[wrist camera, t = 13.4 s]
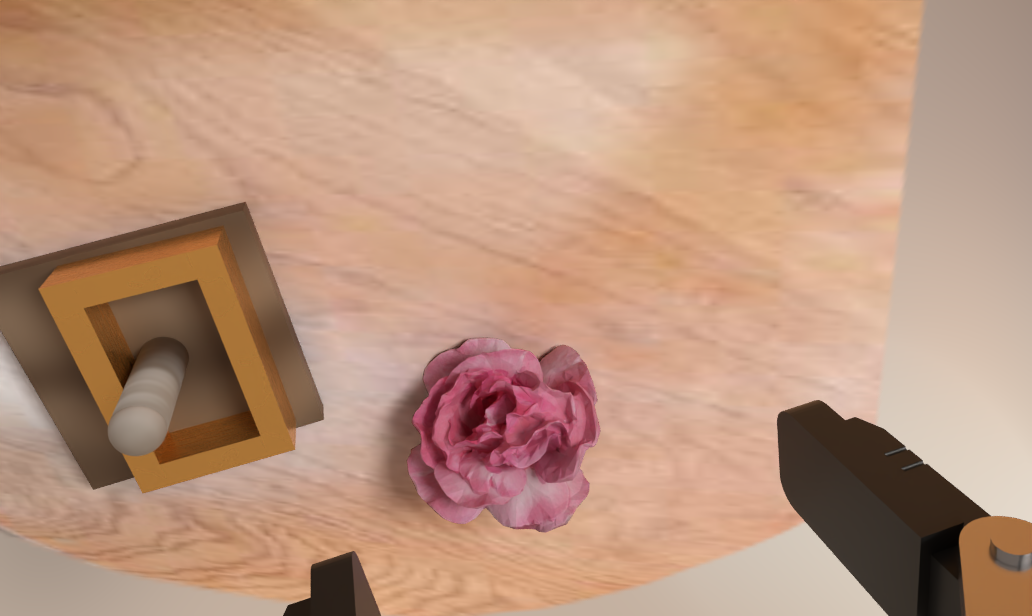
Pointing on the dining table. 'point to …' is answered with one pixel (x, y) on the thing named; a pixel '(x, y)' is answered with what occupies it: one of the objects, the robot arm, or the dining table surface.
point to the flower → (504, 434)
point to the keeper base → (144, 322)
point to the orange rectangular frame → (109, 361)
